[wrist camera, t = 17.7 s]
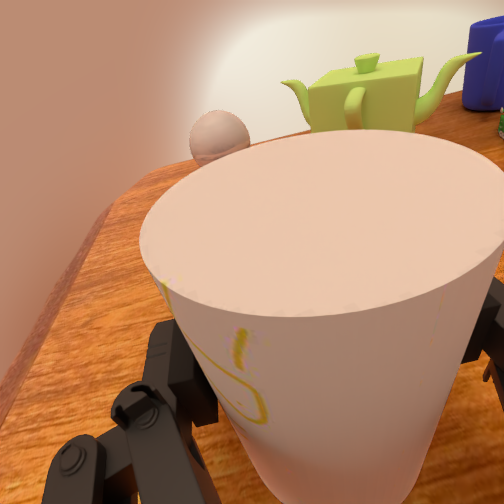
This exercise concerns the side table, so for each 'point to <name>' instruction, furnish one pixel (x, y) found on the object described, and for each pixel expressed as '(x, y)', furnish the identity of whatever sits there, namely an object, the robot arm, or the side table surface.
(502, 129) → the toy car
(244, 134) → the bath bomb
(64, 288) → the side table surface
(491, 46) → the mug
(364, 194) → the doodled pink cylinder
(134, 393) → the robot arm
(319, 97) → the teapot
